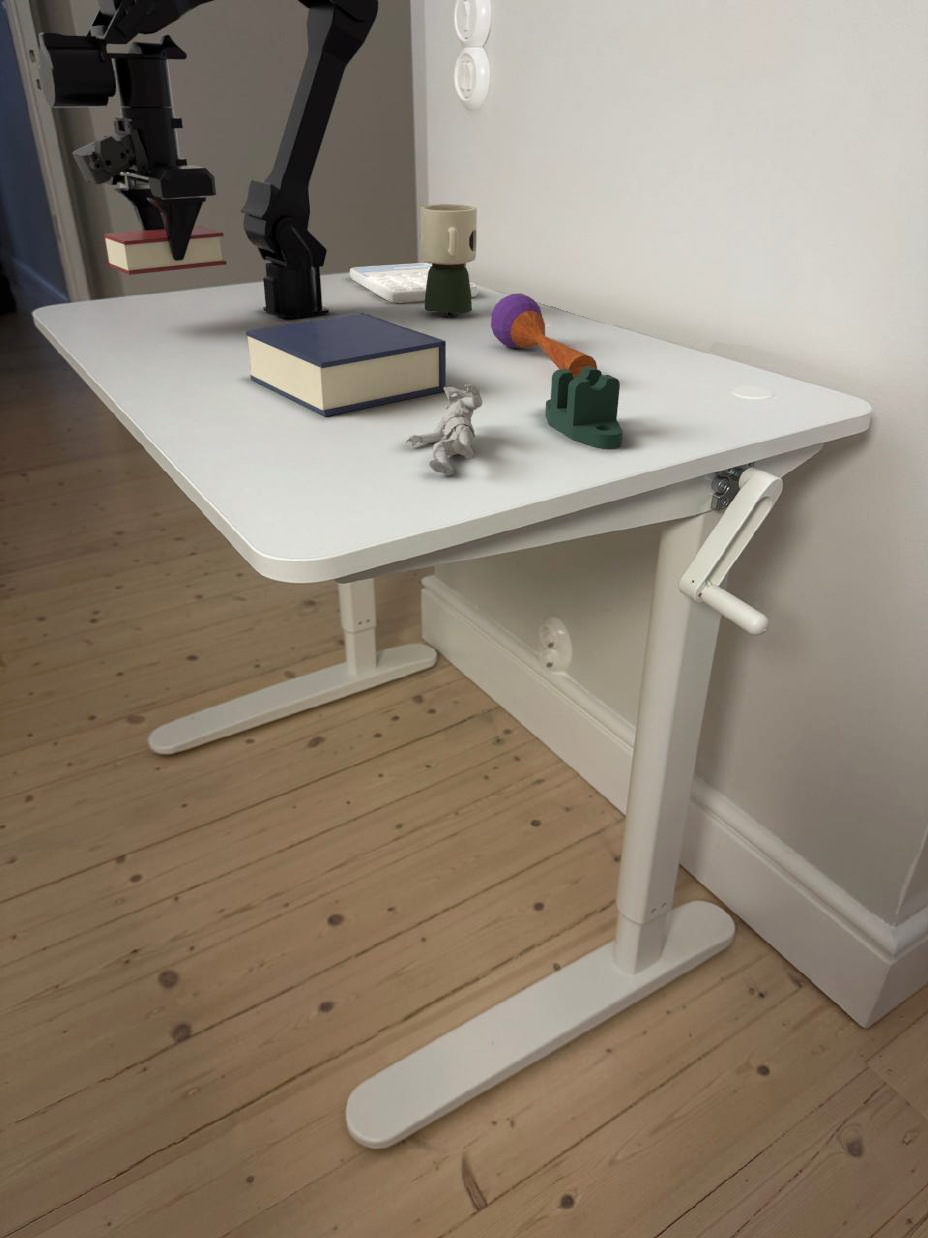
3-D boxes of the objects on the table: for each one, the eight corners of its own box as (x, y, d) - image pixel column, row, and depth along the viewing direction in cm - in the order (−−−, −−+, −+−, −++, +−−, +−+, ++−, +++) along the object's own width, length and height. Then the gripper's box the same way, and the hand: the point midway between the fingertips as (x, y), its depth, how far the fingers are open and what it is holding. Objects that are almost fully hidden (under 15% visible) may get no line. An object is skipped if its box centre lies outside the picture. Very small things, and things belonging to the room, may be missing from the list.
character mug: (481, 322, 122) (483, 212, 115) (425, 324, 121) (425, 213, 114) (468, 304, 131) (470, 201, 124) (417, 305, 130) (415, 202, 123)
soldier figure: (402, 487, 76) (396, 398, 84) (444, 517, 79) (435, 428, 87) (472, 428, 73) (459, 341, 81) (514, 462, 75) (498, 374, 83)
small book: (204, 256, 119) (200, 225, 117) (226, 264, 115) (223, 232, 113) (109, 266, 113) (103, 233, 111) (129, 274, 108) (124, 241, 106)
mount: (531, 413, 90) (534, 360, 87) (573, 408, 91) (577, 356, 89) (591, 451, 81) (596, 393, 79) (636, 444, 83) (642, 387, 80)
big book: (364, 358, 106) (363, 312, 103) (445, 390, 96) (446, 340, 93) (250, 379, 98) (245, 330, 96) (325, 416, 88) (321, 362, 86)
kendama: (553, 350, 94) (480, 294, 110) (558, 406, 98) (486, 344, 113) (607, 335, 95) (527, 281, 111) (609, 390, 99) (532, 331, 114)
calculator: (391, 304, 130) (391, 290, 129) (347, 278, 146) (347, 265, 145) (480, 297, 135) (480, 283, 134) (428, 272, 151) (428, 260, 150)
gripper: (45, 104, 107) (72, 251, 115) (104, 111, 95) (130, 275, 103) (141, 103, 113) (161, 243, 121) (209, 110, 101) (225, 265, 108)
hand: (167, 256), depth 113 cm, fingers closed on small book, 6 cm apart
